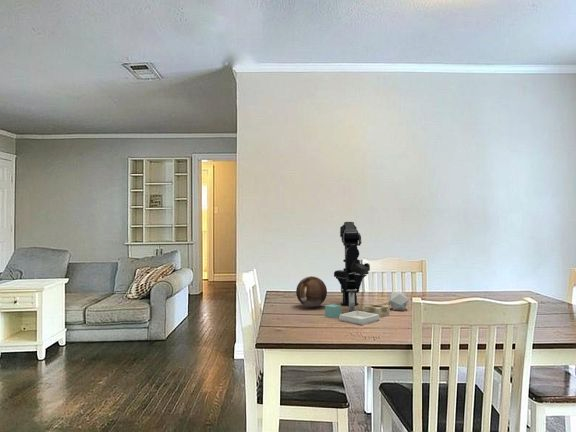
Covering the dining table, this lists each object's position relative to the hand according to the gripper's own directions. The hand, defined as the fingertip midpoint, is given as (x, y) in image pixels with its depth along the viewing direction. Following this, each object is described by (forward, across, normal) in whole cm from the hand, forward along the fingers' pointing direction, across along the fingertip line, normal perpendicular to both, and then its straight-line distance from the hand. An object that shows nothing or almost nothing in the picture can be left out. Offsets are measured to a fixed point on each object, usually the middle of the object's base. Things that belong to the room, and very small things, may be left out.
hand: (351, 291), depth 218 cm
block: (+10, -13, 0) cm, 16 cm away
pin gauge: (+10, 0, 0) cm, 10 cm away
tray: (+10, -11, -13) cm, 20 cm away
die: (+10, +20, -12) cm, 25 cm away
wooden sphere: (+10, -5, +21) cm, 24 cm away
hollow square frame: (+10, +3, -12) cm, 16 cm away
